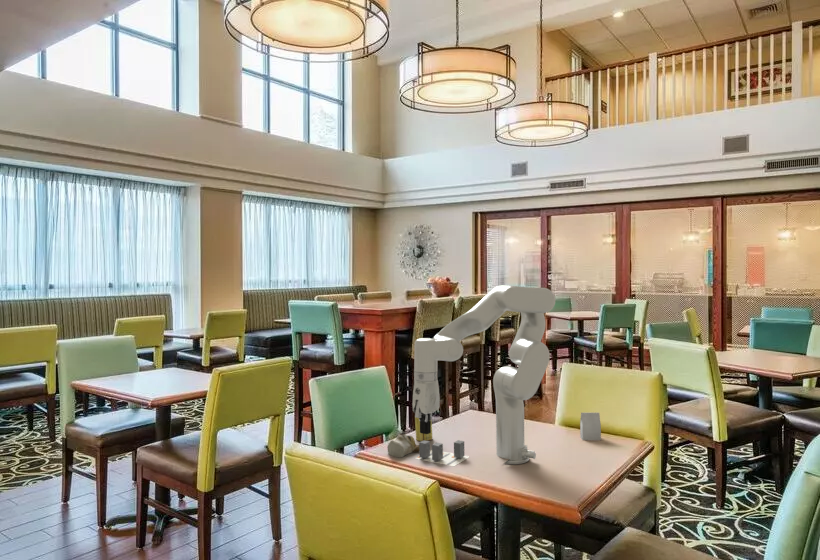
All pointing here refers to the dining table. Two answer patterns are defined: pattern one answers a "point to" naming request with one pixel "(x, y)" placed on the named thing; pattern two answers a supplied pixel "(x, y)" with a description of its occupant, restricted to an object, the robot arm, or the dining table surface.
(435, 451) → the slider
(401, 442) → the ceramic sculpture
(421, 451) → the slider
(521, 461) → the robot arm
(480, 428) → the dining table surface
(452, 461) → the switch panel
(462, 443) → the slider
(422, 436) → the sauce bottle
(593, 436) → the grey upright block
